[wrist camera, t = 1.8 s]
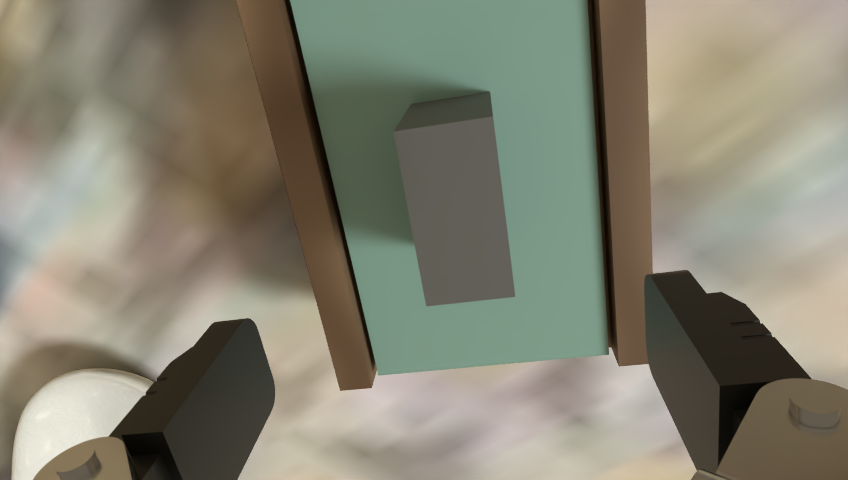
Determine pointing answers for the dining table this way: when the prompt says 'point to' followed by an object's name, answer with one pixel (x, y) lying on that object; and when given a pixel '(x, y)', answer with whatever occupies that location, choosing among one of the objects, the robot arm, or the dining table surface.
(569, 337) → the cover plate
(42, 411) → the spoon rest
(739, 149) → the dining table surface
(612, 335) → the lid box
